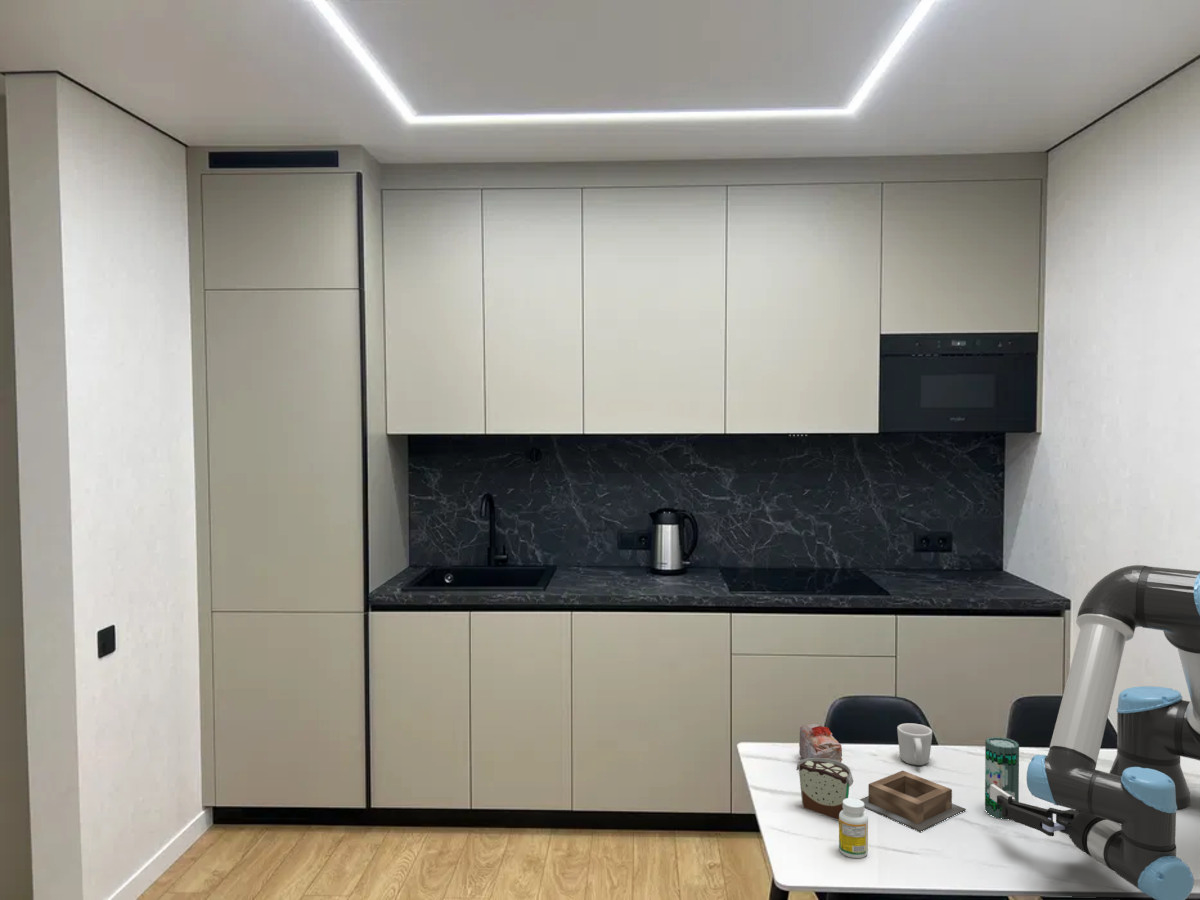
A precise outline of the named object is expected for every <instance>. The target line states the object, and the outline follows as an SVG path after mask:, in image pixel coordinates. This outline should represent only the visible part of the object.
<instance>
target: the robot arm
mask: <svg viewBox="0 0 1200 900" xmlns="http://www.w3.org/2000/svg"><path fill="white" fill-rule="evenodd" d="M1075 623H1076V626H1078V628H1079V633H1078V635H1077V636H1078V637H1077V641H1076V645H1075V648H1074V653H1073V656H1072V660H1071V664H1070V668H1069V671H1068V675H1067V679H1066V684H1065V687H1064V690H1063V695H1062V699H1061V702H1060V706H1059V710H1058V713H1057V718H1056V722H1055V724H1054V729H1053V733H1052V737H1051V739H1050V743H1049V750H1048V753H1047V755H1046V754H1035V755H1034V756H1033V757H1031V759H1030V760H1031V761H1030V762H1029V763H1028V766H1027V768H1026V769H1027V770H1026V786H1027V789H1028V791H1029V793H1030V794H1031V796H1033V797H1035V798H1037V799H1039V800H1042V801H1045V802H1048V803H1050V804H1053V805H1055V806H1059V807H1060V806H1061V807H1064V808H1067V809H1063V810H1062V809H1058V808H1054V807H1049V808H1044V807H1041V806H1036V805H1031V804H1027V803H1026V802H1025V803H1024V802H1021V801H1019V802H1017V801H1015V798H1014V797H1012V796H1011V795H1009V794H1008V793H1006V792H1005V791H1003V790H1002V789H1000V788H998V787H997V786H995V785H994V784H992V785H990V798H991V799H992V800H994V801H995V802H997V804H998V805H1000V806H1001V807H1002V817H1004V818H1007V819H1010V820H1009V821H1013V822H1015V823H1018V824H1020V825H1023V826H1026V827H1029V828H1031V829H1034V830H1037V831H1039V832H1041V833H1043V834H1045V835H1047V836H1048V837H1055V832H1060V833H1063V834H1065V835H1067V836H1069V838H1070V839H1071V841H1072V843H1073V844H1074V846H1075V847H1077V849H1079V850H1081V851H1082V852H1083V853H1084V854H1086V855H1088V856H1089V857H1091V858H1093V859H1094V860H1095V861H1098V862H1099V863H1100V864H1102V865H1104V866H1105V867H1106V868H1108V869H1110V870H1111V871H1112V872H1113V873H1115V874H1116V875H1118V876H1119V877H1121V878H1123V880H1125V881H1126V882H1128V883H1129V884H1131V885H1132V886H1134V887H1135V888H1137V889H1138V890H1139V892H1141V893H1143V894H1145V895H1147V896H1149V897H1151V898H1152V899H1154V900H1187V898H1188V897H1189V896H1190V894H1191V893H1192V891H1193V888H1194V875H1193V873H1192V871H1191V868H1190V866H1189V865H1188V864H1186V862H1184V861H1183V860H1182V859H1181V858H1179V857H1178V856H1177V843H1176V831H1177V827H1176V825H1177V811H1178V810H1181V809H1184V808H1187V807H1188V806H1190V802H1191V801H1190V799H1191V798H1190V795H1191V793H1190V788H1189V786H1188V784H1187V781H1186V778H1185V776H1184V773H1183V770H1182V766H1181V757H1184V758H1187V759H1192V760H1196V761H1200V570H1199V571H1198V570H1190V569H1189V570H1188V569H1178V568H1168V567H1157V566H1148V565H1143V564H1135V565H1127V566H1124V567H1123V566H1122V567H1120V568H1117V569H1115V570H1114V571H1111V572H1109V573H1108V574H1107V575H1105V576H1104V577H1102V578H1101V579H1100V580H1099V581H1098V582H1096V583H1095V584H1094V585H1093V587H1092V588H1091V589H1090V590H1089V591H1088V592H1087V594H1086V595H1085V596H1084V598H1083V600H1082V602H1081V604H1080V606H1079V609H1078V613H1077V615H1076V620H1075ZM1136 628H1143V629H1151V630H1156V631H1163V634H1164V637H1165V638H1166V640H1167V641H1168V642H1169V644H1170V645H1172V646H1173V647H1174V648H1176V649H1177V652H1178V655H1179V659H1180V664H1181V668H1182V671H1183V674H1184V678H1185V682H1186V686H1187V690H1188V693H1189V698H1190V701H1189V700H1184V699H1183V695H1182V693H1181V692H1180V691H1179V690H1176V689H1173V688H1170V687H1166V686H1165V687H1163V686H1151V685H1149V686H1148V685H1147V686H1146V685H1145V686H1143V685H1142V686H1134V687H1129V688H1125V689H1123V690H1122V691H1120V693H1119V694H1118V698H1117V699H1118V701H1117V708H1116V712H1117V716H1116V717H1117V718H1116V720H1117V724H1116V726H1117V728H1116V730H1117V733H1116V734H1117V736H1116V737H1117V738H1116V739H1117V740H1116V741H1117V742H1116V745H1117V747H1116V755H1115V758H1114V761H1113V764H1112V765H1111V768H1110V771H1109V772H1106V771H1102V770H1099V769H1096V768H1097V763H1098V759H1099V754H1100V750H1101V746H1102V743H1103V738H1104V733H1105V730H1106V726H1107V725H1106V724H1107V721H1108V716H1109V712H1110V709H1111V708H1110V707H1111V704H1112V700H1113V696H1114V691H1115V687H1116V684H1117V679H1118V675H1119V671H1120V666H1121V661H1122V657H1123V653H1124V649H1125V646H1126V642H1128V641H1131V640H1132V639H1133V638H1134V635H1135V631H1136ZM1054 814H1055V821H1054Z"/></svg>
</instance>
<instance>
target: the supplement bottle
mask: <svg viewBox="0 0 1200 900" xmlns="http://www.w3.org/2000/svg"><path fill="white" fill-rule="evenodd" d="M865 809H866V808H864V802H863V801H861V800H860V799H858V798H854V797H848V798H846V799H844V800H843V810H842V811H841V812H840V814H839V821H838V849H839V852H840V853H841V854H842V855H843V856H846V857H848V858H851V859H852V858H853V859H862V858H864V857H866V856H867V855H868V852H869V818H868V817H869V816H868V815H867V814H866V813H865Z"/></svg>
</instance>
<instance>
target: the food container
mask: <svg viewBox="0 0 1200 900" xmlns="http://www.w3.org/2000/svg"><path fill="white" fill-rule="evenodd" d="M796 771H798V773H799V784H800V794H801V806H802V810H805V811H808V812H811V813H814V814H817V815H820V816H822V817H826V818H829V819H831V820H834V821H837V822H839V814H840V812H841V811H842V810H843V800H844V799H846V798H849V792H850V787H851V786H852V785H853V783H854V777H853V774H852V771H851V769H850V767H848V765H846V764H845V763H844V762H842V761H841V762H838V761H835V760H831V759H825V758H808V759H804V758H802V759H801V760H798V763H797V764H796Z"/></svg>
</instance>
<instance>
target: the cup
mask: <svg viewBox="0 0 1200 900" xmlns="http://www.w3.org/2000/svg"><path fill="white" fill-rule="evenodd" d="M896 728H897V729H896V731H897V738H898V739H897V741H898V749H899V756H900V758H901V760H902V761H903V762H904V763H906V764H909V765H913V766H924V765H926V764H927V763H928V762H929V761H930V755H931V748H932V739H933V729H931V728H930V727H929V726H927V725H924V724H918V723H912V722H911V723H909V722H907V723H906V722H905V723H901V724H898V725H897V727H896Z"/></svg>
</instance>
